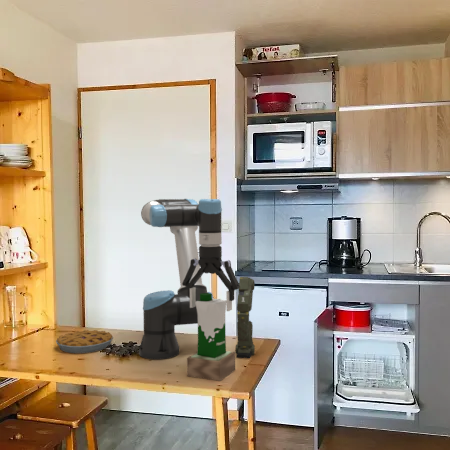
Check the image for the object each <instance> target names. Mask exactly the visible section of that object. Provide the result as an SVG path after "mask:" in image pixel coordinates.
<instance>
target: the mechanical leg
mask: <svg viewBox="0 0 450 450" xmlns="http://www.w3.org/2000/svg"><path fill="white" fill-rule="evenodd" d="M238 283H239V285H240V288H239V289H238V294H237V301H236V303H237V304H236V311H237V313H236V316H237V321H236V324H237V326H236V328H237V329H236V331H237V344H235V349H234V350H235V359H250V358H251V357H252V356H253V355H255V352H256V351H255V349H256V348H255V347H256V346H255V344H254V340H253V322H252V321H251V320H250V312H251V310H253V309H252V307H253V297H254V296H253V295H254V290H255V280H254V279H253V278H251V277H249V276H240V277H239V281H238Z"/></svg>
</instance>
